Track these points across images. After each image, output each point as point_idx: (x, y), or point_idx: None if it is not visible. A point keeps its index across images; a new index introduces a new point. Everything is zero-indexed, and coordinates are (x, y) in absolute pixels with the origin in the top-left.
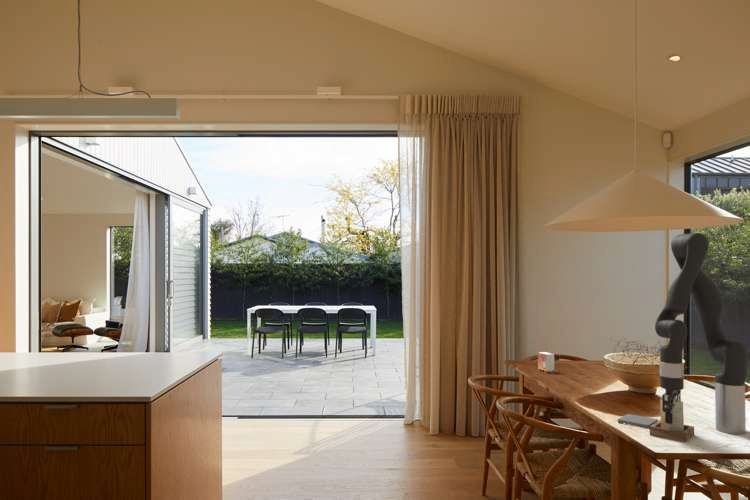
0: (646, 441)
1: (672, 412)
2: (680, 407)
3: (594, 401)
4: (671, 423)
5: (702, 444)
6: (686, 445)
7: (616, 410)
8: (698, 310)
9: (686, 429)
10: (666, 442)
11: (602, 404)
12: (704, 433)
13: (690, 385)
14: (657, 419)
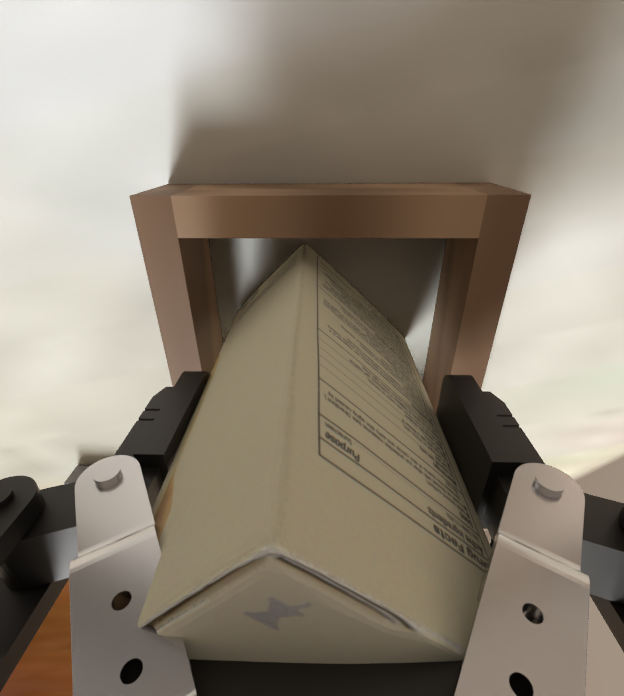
0: (620, 413)
1: (549, 473)
2: (337, 460)
3: (14, 689)
4: (469, 378)
5: (465, 11)
6: (595, 150)
7: (61, 625)
8: None
9: (337, 232)
10: (577, 309)
11: (25, 669)
12: (15, 114)
13: None
14: (66, 481)
